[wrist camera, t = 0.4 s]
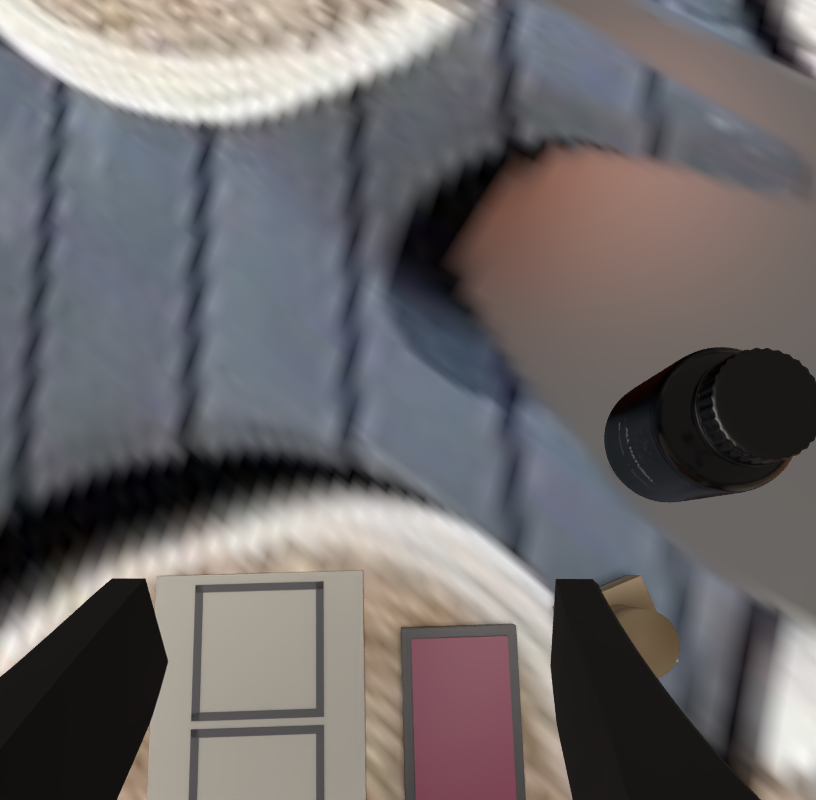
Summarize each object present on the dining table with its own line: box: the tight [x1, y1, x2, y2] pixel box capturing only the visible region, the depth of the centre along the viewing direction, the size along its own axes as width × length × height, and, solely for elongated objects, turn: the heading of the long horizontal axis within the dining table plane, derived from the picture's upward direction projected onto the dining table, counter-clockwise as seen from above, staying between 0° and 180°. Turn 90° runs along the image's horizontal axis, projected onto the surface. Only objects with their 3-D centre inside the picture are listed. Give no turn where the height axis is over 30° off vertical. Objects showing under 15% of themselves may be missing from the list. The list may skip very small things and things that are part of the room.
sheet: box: [147, 571, 366, 800], centre depth 38 cm, size 15×11×1 cm
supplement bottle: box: [604, 347, 816, 502], centre depth 36 cm, size 7×7×12 cm
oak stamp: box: [553, 575, 679, 678], centre depth 37 cm, size 4×4×6 cm
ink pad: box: [401, 624, 526, 800], centre depth 38 cm, size 9×6×1 cm, turn 2°
